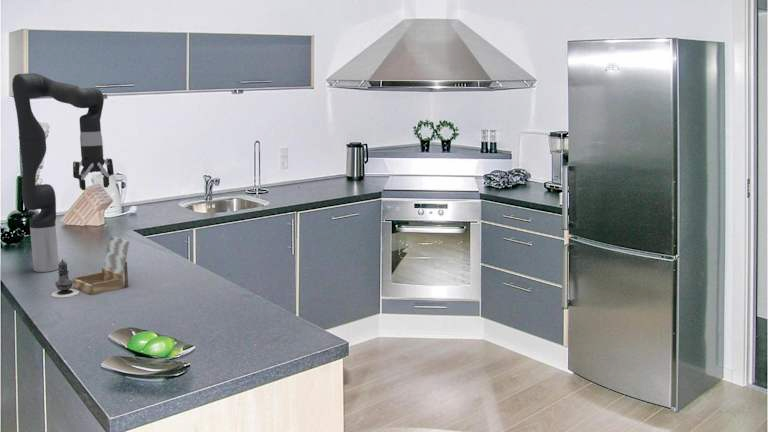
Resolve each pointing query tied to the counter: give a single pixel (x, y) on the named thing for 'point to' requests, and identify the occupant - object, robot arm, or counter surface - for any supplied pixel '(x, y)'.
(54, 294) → the saucer
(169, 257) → the counter surface
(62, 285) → the grey tall domed piece
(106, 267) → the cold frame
